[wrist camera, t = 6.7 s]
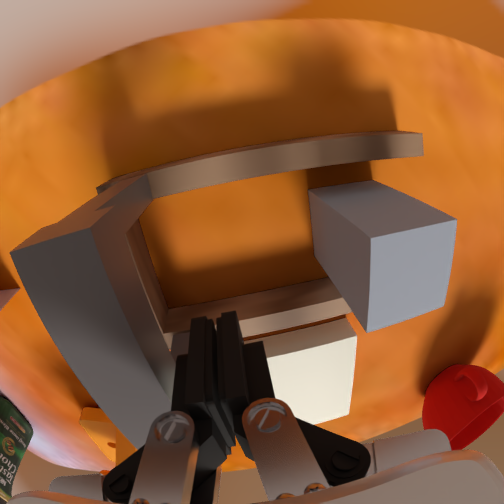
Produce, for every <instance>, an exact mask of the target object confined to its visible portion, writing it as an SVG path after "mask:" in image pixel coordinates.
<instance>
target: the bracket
mask: <svg viewBox="0 0 504 504" xmlns="http://www.w3.org/2000/svg"><path fill="white" fill-rule="evenodd" d="M79 423H80V425H81V426H82V427H83V429H84V430H85V431H86V432H87V434H88V435H89V436H90V437H91V439H92V440H93V441H94V442H95V444H96V445H97V446H98V447H99V448H100V449H101V451H102V452H103V453H104V454H105V455H106V456H107V458H108V459H109V460H111V461H113V462H116V466H118V465H119V464H120V463H122V462H123V461H124V460H125V459H127V458H128V457H129V456H131V455H132V454H133V453H134V452H136V451H137V449H136V448H135V447H134V445H133V444H132V443H131V442H130V441H129V440H128V439H127V438H126V437H125V436H124V435H123V434H122V433H121V431H120V430H119V429H118V428H117V427H116V426H115V425H114V424H113V422H112V421H111V420H110V419H109V418H108V416H107V415H106V414H105V413H104V412H103V410H102V409H100V408H91V407H84V408H83V410H82V413H81V416H80V420H79ZM109 472H110V471H107V470H102V471H101V472H100V473H101V474H102V475H107V474H108V473H109Z"/></svg>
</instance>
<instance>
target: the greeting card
mask: <svg viewBox="0 0 504 504" xmlns="http://www.w3.org/2000/svg"><path fill="white" fill-rule="evenodd" d="M19 289H20V288H16V289H8V290H0V311H1V309H2V308H3V307H4V306H5V305H6V304H7V303H8V301H9V300H10V299H11V298H12V297H13V296H14V295H15V294H16V293H17V292H18V290H19Z"/></svg>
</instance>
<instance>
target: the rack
mask: <svg viewBox="0 0 504 504" xmlns="http://www.w3.org/2000/svg"><path fill="white" fill-rule="evenodd" d="M416 156H424V154H423V137H422V133H415V132H407V131H376V132H360V133H347V134H336V135H326V136H316V137H308V138H299V139H292V140H285V141H278V142H271V143H265V144H258V145H252V146H247V147H241V148H236V149H230V150H225V151H220V152H215V153H210V154H205V155H201V156H196V157H192V158H187V159H183V160H179V161H175V162H171V163H167V164H163V165H159V166H155V167H151V168H147V169H144V170H140V171H136V172H133V173H129V174H126V175H122V176H119V177H116V178H113V179H111V180H109V181H107V182H105V183H104V184H102V185H100V186H98V187H97V188H96V189H97V193H98V195H99V194H100V193H102V192H104V191H105V190H107V189H108V188H110V187H111V186H113V185H115V184H116V183H118V182H120V181H121V180H125V179H128V178H132V177H135V176H139V175H143V174H147V178H148V182H149V186H150V190H151V194H152V198H153V199H155V198H159V197H163V196H167V195H172V194H176V193H180V192H184V191H189V190H193V189H198V188H203V187H207V186H212V185H217V184H222V183H227V182H232V181H237V180H242V179H247V178H253V177H258V176H264V175H270V174H276V173H282V172H288V171H294V170H301V169H307V168H314V167H321V166H329V165H337V164H344V163H353V162H362V161H371V160H381V159H391V158H403V157H416ZM125 238H126V241H127V244H128V247H129V250H130V253H131V256H132V259H133V262H134V264H135V267H136V270H137V273H138V276H139V278H140V281H141V284H142V286H143V289H144V291H145V294H146V297H147V299H148V302H149V304H150V307H151V309H152V312H153V314H154V316H155V319H156V321H157V324H158V326H159V328H160V331H161V333H162V335H163V337H164V340H165V342H166V344H167V346H168V349H171V345H172V338H173V335H176V334H182V333H188V332H190V325H191V319H192V318H196V317H202V316H206V317H207V319H213V322H214V325H215V328H216V318H218V317H221V313H224V312H229V311H234V310H236V313H237V316H238V321H239V325H240V329H241V332H242V336H243V337H248V336H253V335H258V334H263V333H268V332H272V331H277V330H282V329H286V328H291V327H295V326H299V325H304V324H308V323H312V322H316V321H320V320H324V319H328V318H332V317H336V316H340V315H343V314H347V313H351V312H352V310H351V309H350V307H349V306H348V304H347V303H346V301H345V300H344V298H343V297H342V295H341V294H340V292H339V291H338V289H337V288H336V286H335V285H334V284H333V282H332V281H331V279H330V278H329V277H326V278H322V279H318V280H313V281H309V282H304V283H300V284H295V285H290V286H286V287H281V288H276V289H272V290H267V291H262V292H257V293H252V294H247V295H242V296H237V297H232V298H227V299H222V300H216V301H211V302H206V303H200V304H195V305H189V306H184V307H178V308H172V309H168V306H167V303H166V301H165V298H164V295H163V293H162V290H161V287H160V284H159V281H158V279H157V276H156V273H155V270H154V267H153V264H152V261H151V258H150V255H149V252H148V249H147V245H146V242H145V239H144V236H143V233H142V229H141V226H140V223H139V219H137V220H136V221H135V223H134V224H133V225H132V226H131V228H130V229H129V230H128V231H127V233H126V234H125Z"/></svg>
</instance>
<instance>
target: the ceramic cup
mask: <svg viewBox="0 0 504 504" xmlns="http://www.w3.org/2000/svg"><path fill="white" fill-rule="evenodd" d="M425 394H426V395H425V399H424V404H423V411H422V420H423V426H424V430H427V429H437V430H441V431H442V432H443V433H445V434H446V436H447V438H448V440H449V443H450V447H451V451H453V450H462V449H463V448H465V447H466V446H467V445H469V444H470V443H472V442H473V441H474V440H476V439H477V438H478V437H479V436H480V435H482V434H483V433H484V432H485V431H486V430H487V429H488V428H489V427H490V426H491V425H492V424H493V423H494V422H495V421H496V420H497V419H498V418H499V417H500V416H501V415H502V413H503V412H504V383H503V382H502V381H501V380H500V379H499V378H498V377H496V376H495V375H494V374H493V373H491V372H490V371H488V370H487V369H485V368H482V367H479V366H475V365H459V364H455V365H452V366H450V367H448V368H447V369H445V370H444V371H442V372H441V373H440V374H439V375H438V376H437V377H436V378H435V379H434V380H433V381H432V382H431V383H430V385H429V386H428V388H427V390H426V393H425Z"/></svg>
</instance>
